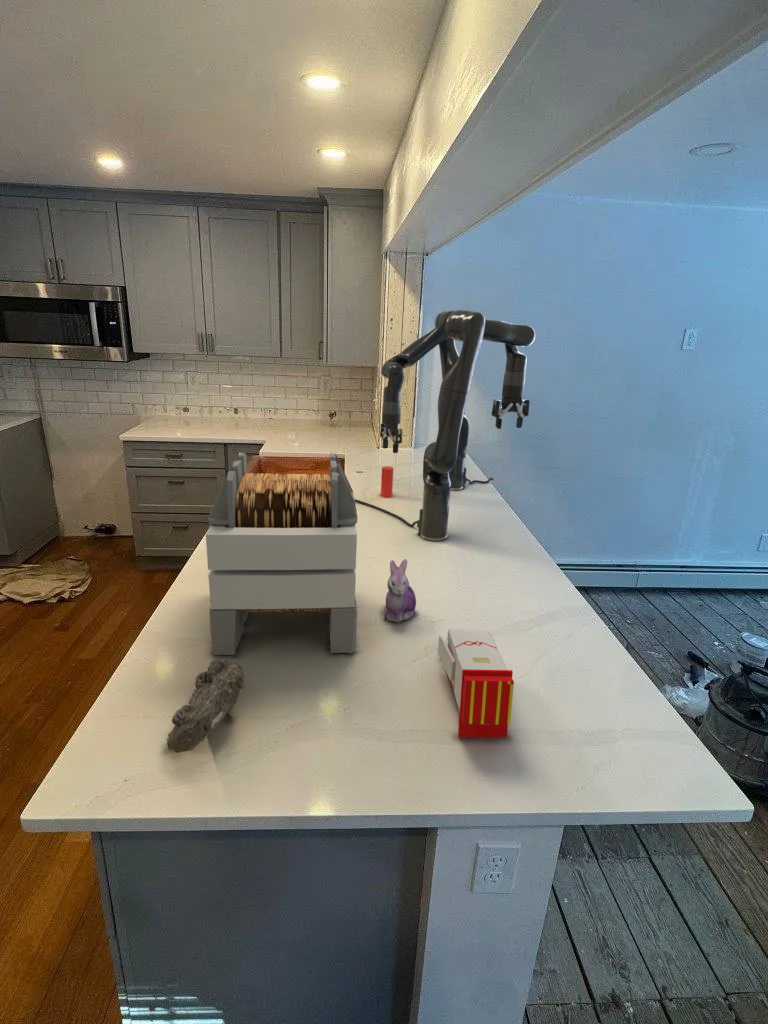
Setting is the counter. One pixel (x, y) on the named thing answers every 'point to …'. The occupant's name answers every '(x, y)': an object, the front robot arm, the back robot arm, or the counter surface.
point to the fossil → (206, 705)
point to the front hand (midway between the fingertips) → (508, 428)
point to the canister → (387, 481)
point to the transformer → (282, 551)
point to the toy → (478, 682)
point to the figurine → (399, 594)
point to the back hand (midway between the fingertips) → (390, 450)
